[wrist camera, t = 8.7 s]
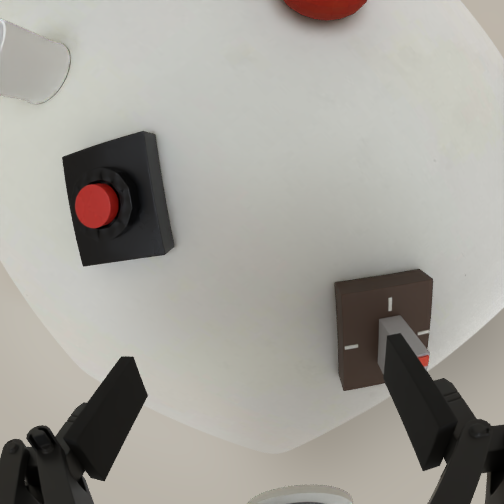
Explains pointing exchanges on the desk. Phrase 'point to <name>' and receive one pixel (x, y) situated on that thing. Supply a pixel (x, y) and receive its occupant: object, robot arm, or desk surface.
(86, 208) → the power button
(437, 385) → the robot arm
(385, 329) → the dial
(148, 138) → the button block
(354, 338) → the dial panel
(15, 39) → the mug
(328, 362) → the desk surface
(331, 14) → the fruit
